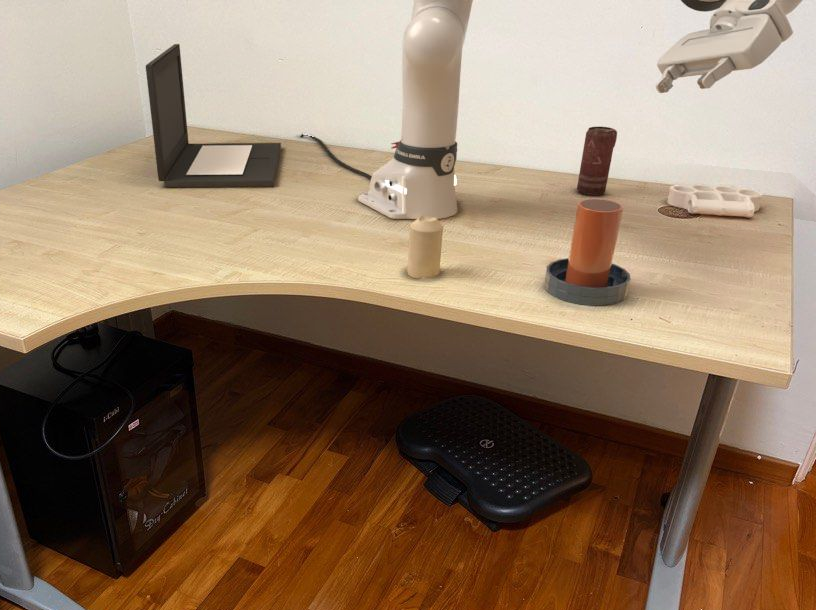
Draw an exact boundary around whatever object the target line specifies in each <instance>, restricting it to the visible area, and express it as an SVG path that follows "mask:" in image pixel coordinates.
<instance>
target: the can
mask: <svg viewBox="0 0 816 610" xmlns="http://www.w3.org/2000/svg"><path fill="white" fill-rule="evenodd" d="M617 139H618V130H616V129H615V128H613V127H609V126H608V127H607V126H591V127H589V128H588V129H587V131H586V132H585V137H584V143H583V150H582V154H581V162H580V167H579V173H578V174H579V175H578V178H577V179H578V180H577V185H576V186H577V187H576V191H577V193H578V194H580V195H582V196H586V197H600V196H603V195H604V194H605V193H606V190H607V185H608V184H607V183H608V179H609V176H610V175H609V173H610V169H611V163H612V157H613V152H614V148H616V147H615V146H616V143H617Z"/></svg>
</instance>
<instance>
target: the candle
mask: <svg viewBox="0 0 816 610" xmlns="http://www.w3.org/2000/svg"><path fill="white" fill-rule="evenodd" d="M443 234H444V225H443V224H442V223H441V222H440V220H439V219H437V218H436V217H434V218H431V217H430V216H428V215H423V216H421V217H420V218H418V219H414V220H413V222H411V223H410V224H409V235H408V236H409V237H408V252H407V253H408V254H407V270H406V272H407V275H408V276H409V277H411V278H413V279H416V280H417V279H418V280H421V279H424V278H434V277H437V276H438V275H439V274H440V272H441V271H440V269H441V261H442V260H441V257H442V248H443V247H442V246H443Z"/></svg>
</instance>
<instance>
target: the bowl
mask: <svg viewBox="0 0 816 610" xmlns="http://www.w3.org/2000/svg"><path fill="white" fill-rule="evenodd" d="M568 259H569V257H567V258H559V259H557V260H554V261H551V262H550V263H548V265H546V267H545V274H544V281H543V289H545V290H546V292H547V294H550V295H551V296H552V297H554V298H557V299H558V300H562V301H565V302H568V303H571V304H575V305H584V306H594V307H595V306H609V305H614V304H618V303H620V302H622V301H624V300H625V299H626V298H627V296H628V293H629V290H630V289H629V288H630V285H631V279H632V278H631V273H629V271H627V270H626V268H623V267H621V266H620V265H618V264H615V263H612V265H611V270H610V275H609V280H608V285H607V287H599V288H594V287H584V286H579V285H574V284H570V283H567V282H565V277H566V271H567V265H568Z"/></svg>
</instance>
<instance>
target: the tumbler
mask: <svg viewBox="0 0 816 610" xmlns="http://www.w3.org/2000/svg"><path fill="white" fill-rule="evenodd" d="M623 210H624V206H623V205H622V204H621V203H620V202H617V201H613V200H609V199H604V198H587V199H582V200H579V201H578V202H577V207H576V212H575V213H576V214H575V218H574V225H573V231H572V237H571V243H570V249H569V253H568V254H569V255H568V258H569V259H568V265H567V271H566V277H565V282H567V283H570V284H574V285H579V286H584V287H594V288H599V287H607V285H608V280H609V275H610V270H611V265H612V264H613V260H614V255H615V249H616V245H617V241H618V235H619V230H620V225H621V220H622V216H623Z"/></svg>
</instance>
